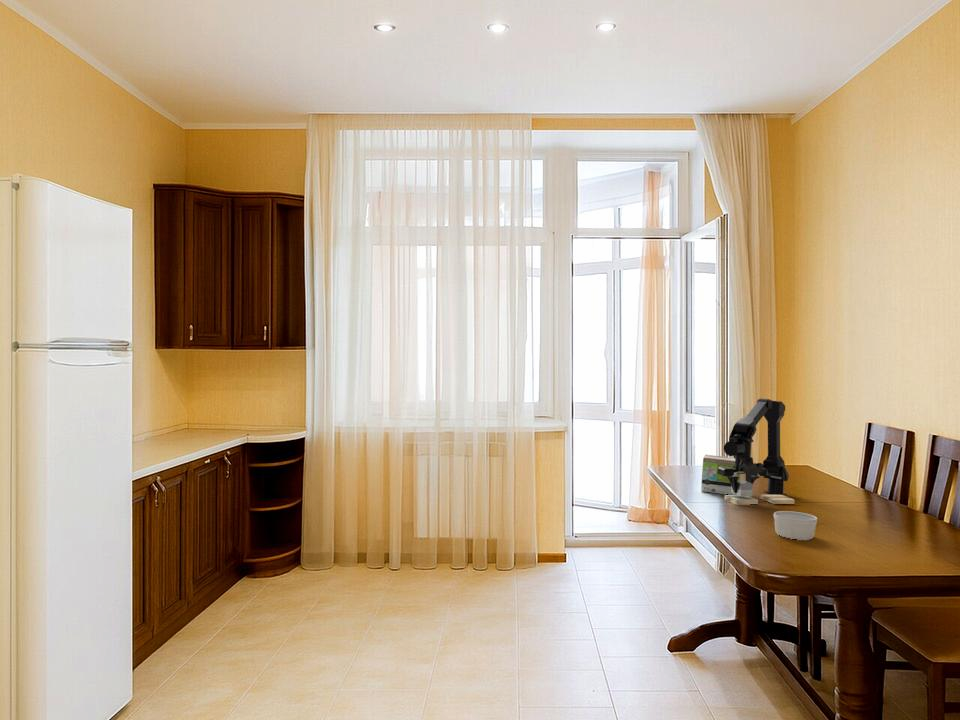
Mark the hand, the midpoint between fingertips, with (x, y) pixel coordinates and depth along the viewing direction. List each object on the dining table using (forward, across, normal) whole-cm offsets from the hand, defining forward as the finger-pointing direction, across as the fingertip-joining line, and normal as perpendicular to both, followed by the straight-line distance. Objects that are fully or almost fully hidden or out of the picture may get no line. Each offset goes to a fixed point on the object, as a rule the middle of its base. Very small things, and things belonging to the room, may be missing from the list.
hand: (741, 493), depth 284 cm
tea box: (+4, +2, +19) cm, 20 cm away
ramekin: (+4, -9, -47) cm, 48 cm away
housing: (0, 0, 0) cm, 1 cm away
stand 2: (+4, +16, 0) cm, 16 cm away
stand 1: (+4, 0, 0) cm, 4 cm away
